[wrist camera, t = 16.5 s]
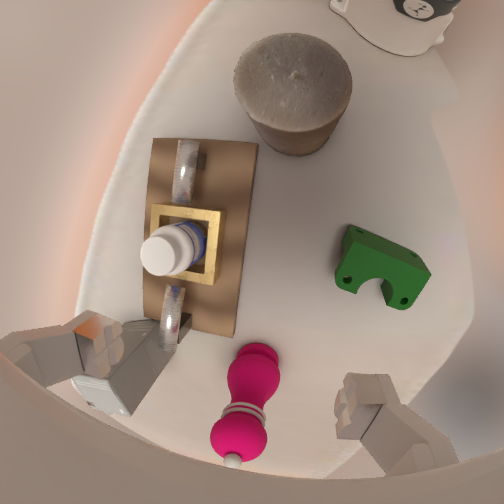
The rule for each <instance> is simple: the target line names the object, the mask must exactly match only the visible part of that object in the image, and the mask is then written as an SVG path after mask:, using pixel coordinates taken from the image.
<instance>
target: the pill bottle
mask: <svg viewBox="0 0 504 504" xmlns="http://www.w3.org/2000/svg"><path fill="white" fill-rule="evenodd" d="M207 238H208V232H207V230H206V229H205V228H204V226H202V225H201V224H200V223H198V222H196V221H193V220H185V221H181V222H177V223H174V224H170V225H166V226H162V227H160V228H158V229H156V230H155V231H154V232H153V233H152V234H151V235H150V237H149V238H148V239H147V240H145V241H144V243H143V244H142V246H141V250H140V258H141V262H142V264H143V266H144V267H145V269H146V270H147V271H148V272H149V273H151V274H153V275H156V276H163V275H177V274H180V273H182V272H183V271H185V270H186V269H187V268H189V267H190V266H191V265H193V264H194V263H195V262H197V261H198V260H199V259H201V258H202V257H203V256H204V255H205V254H206V249H207Z"/></svg>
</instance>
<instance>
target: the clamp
mask: <svg viewBox="0 0 504 504" xmlns="http://www.w3.org/2000/svg"><path fill="white" fill-rule="evenodd" d="M343 246H344V251H345V252H344V254H343V256H342V258H341V260H340V262H339V264H338V266H337V268H336V270H335V282H336V285H337V286H338V287H339V288H341V289H343V290H346V291H349V292H351V293H354V294H356V293H357V290H358V288H359V287H360V286H361V285H362V284H363V283H364V282H365V281H367V280H369V279H372V278H383V279H385V280H384V281H383V283H382V284H381V289H382V292H383V296H384V299H385V302H386V305H387V306H390V307H393V308H395V309H398V310H406V309H408V308H409V307H411V306H412V304H413V303H414V301H415V300H416V298H417V297H418V295H419V294H420V292H421V291H422V289H423V288H424V286H425V284H426V283H427V281H428V280H429V278H430V276H431V275H432V274H431V273H430V271H429V270H428V268H427V267H426V265H425V264H424V262H423V260H422V259H421V258H420V257H419V256H418V255H417V254H416V253H414V252H413V251H411V250H409V249H406V248H404V247H402V246H400V245H398V244H395V243H393V242H391V241H389V240H386V239H384V238H382V237H380V236H377V235H375V234H373V233H370V232H368V231H366V230H363V229H361V228H358V227H356V226H349V228H348V231H347V233H346V235H345V237H344V239H343ZM345 276H349V277H348V278H345Z"/></svg>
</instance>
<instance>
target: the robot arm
mask: <svg viewBox="0 0 504 504" xmlns="http://www.w3.org/2000/svg"><path fill="white" fill-rule="evenodd" d="M339 1H341V2H339ZM459 2H460V0H331V1H330V4H329V6H330V8H331V9H332V10H333V11H334V12H336V13H338V14H339V15H341V16H342V17H344V18H345V19H346V20H347V21H348V22H349V23H350V24H351V25H352V27H353V28H354V29H355V30H356V31H357V32H358V33H359V34H360V35H361V36H363V37H364V38H365V39H366V40H368V41H369V42H371V43H372V44H374V45H376V46H378V47H380V48H382V49H384V50H386V51H389V52H391V53H394V54H398V55H403V56H417V55H420V54H423V53H424V52H426V51H427V50H428V49H429V48H430V47H431V46H432V45H439V44H441V43H442V42H443V41H444V36H443V32H444V30H445V29H446V28H447V26H448V25H449V23H450V22H451V21H452V19H453V14H452V10H454V9H455V8H456V7H457V5H458V4H459ZM121 333H122V325H121V323H120V322H119V321H116V320H114V319H111V318H108V317H106V316H103V315H101V314H98V313H96V312H93V311H91V310H86V311H85V312H83V313H82V314H80V315H79V316H77V317H76V318H74V319H73V320H71V321H70V322H68V323H67V324H65V325H64V326H61V325H58V326H52V327H45V328H38V329H32V330H25V331H18V332H12V333H10V334H8V335H7V336H5V337H4V338H2V339H1V340H0V504H504V447H503V448H500V449H498V450H495V451H493V452H490V453H487V454H485V455H482V456H479V457H476V458H473V459H470V460H467V461H463V462H460V463H459V460H458V458H457V456H456V453H455V451H454V448H453V446H452V443H451V441H450V439H449V438H448V437H447V436H446V435H444V434H443V433H442V432H440V431H439V430H438V429H436V428H435V427H434V426H432V425H431V424H430V423H428V422H427V421H426V420H424V419H423V418H422V417H420V416H419V415H418V414H416V413H415V412H414V411H412V410H411V409H410V408H409V407H407V406H406V405H405V404H402V405H401V403H400V400H399V398H398V395H397V393H396V390H395V388H394V385H393V383H392V380H391V378H390V376H389V375H388V374H360V373H347V375H346V376H345V378H344V380H343V383H344V388H342V389H341V390H339V392H338V394H337V397H336V400H335V405H334V414H335V416H336V417H337V418H338V421H337V423H336V434H337V439H347V440H360V442H361V443H362V444H363V446H364V447H365V448H366V449H367V451H368V452H369V453H370V454H371V456H372V457H373V458H374V459H375V460H376V462H377V463H378V464H379V465H380V467H381V468H382V469H383V470H384V472H385V473H386V475H385V476H384V477H378V478H364V479H310V478H295V477H285V476H276V475H268V474H261V473H255V472H249V471H243V470H238V469H233V468H229V467H224V466H220V465H216V464H212V463H208V462H204V461H200V460H197V459H193V458H190V457H187V456H184V455H180V454H177V453H174V452H171V451H169V450H166V449H163V448H160V447H158V446H155V445H152V444H149V443H147V442H144V441H142V440H140V439H137V438H135V437H133V436H130V435H128V434H126V433H124V432H121V431H119V430H117V429H115V428H113V427H111V426H109V425H107V424H105V423H103V422H101V421H99V420H97V419H96V418H94V417H92V416H90V415H88V414H86V413H85V412H83V411H81V410H79V409H78V408H76V407H74V406H73V405H71V404H69V403H68V402H66V401H64V400H63V399H61V398H60V397H58V396H57V395H55V394H54V393H52V392H51V391H49V390H48V389H46V387H48V386H51V385H53V384H56V383H59V382H62V381H64V380H67V379H70V378H72V377H75V376H78V375H80V374H83V373H84V372H85V373H87V374H89V375H91V376H93V377H96V378H98V379H100V380H102V379H103V378H104V377H105V376H106V375H107V374H108V373H109V372H110V371H111V367H110V366H111V365H114V364H117V363H118V362H119V361H120V360H121V358H122V355H123V353H124V342H123V340H122V339H121V337H120V335H121Z"/></svg>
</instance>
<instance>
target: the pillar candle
mask: <svg viewBox="0 0 504 504" xmlns="http://www.w3.org/2000/svg"><path fill="white" fill-rule="evenodd" d="M234 72H235V76H234V80H233V81H234V85H235V91H236V92H235V94H236V96H237V98H238V100H239V101H240V103H241V105H242V107H243V108H244V109H245V111H246V112H247V114H248V116H249V117H250V119H251V120H252V122H253V124H254V125H255V127H256V129H257V130H258V132H259V133H260V135H261V137H262V138H263V140H264V141H265V142H266V143H267V144H268V145H269V146H270V147H272V148H274V150H276V151H278V152H280V153H283V154H287V155H294V156H304V155H309V154H311V153H313V152H315V151H317V150H319V149H320V148H321V147H322V146H323V145H324V144H325V143H326V142H327V140H328V139H329V136H330V135H331V134H332V132H333V130H334V129H335V127H336V125H337V123H338V122H339V120H340V118H341V116H342V115H343V113H344V111H345V109H346V107H347V105H348V103H349V100H350V97H351V93H352V77H351V73H350V71H349V68H348V65H347V63H346V62H345V60H344V59H343V58H342V56H341V55H340V53H339V52H338V51H337V50H336V49H334V48H333V47H332V46H330V45H329V44H328V43H326V42H324V41H322V40H321V39H318V38H316V37H313V36H309V35H305V34H300V33H284V34H277V35H273V36H269V37H267V38H264V39H262V40H260V41H258V42H254V43H253V44H252V45H251V46H250V48H247V49H246V50H245V51H244V52H243V54H242V57H240V61H239V62H238V65H237V67H236V68H235V70H234Z"/></svg>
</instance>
